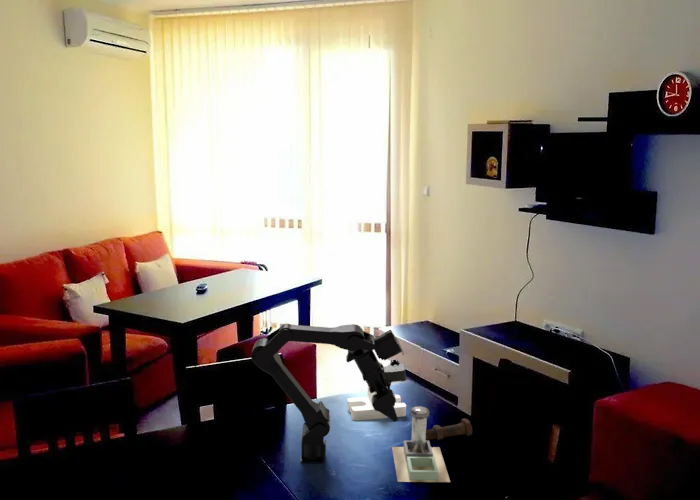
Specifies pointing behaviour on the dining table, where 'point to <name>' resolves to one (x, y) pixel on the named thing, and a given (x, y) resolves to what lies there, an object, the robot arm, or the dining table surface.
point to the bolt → (449, 430)
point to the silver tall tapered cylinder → (418, 428)
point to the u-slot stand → (371, 408)
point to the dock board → (402, 467)
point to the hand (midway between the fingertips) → (394, 413)
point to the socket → (422, 473)
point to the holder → (407, 454)
